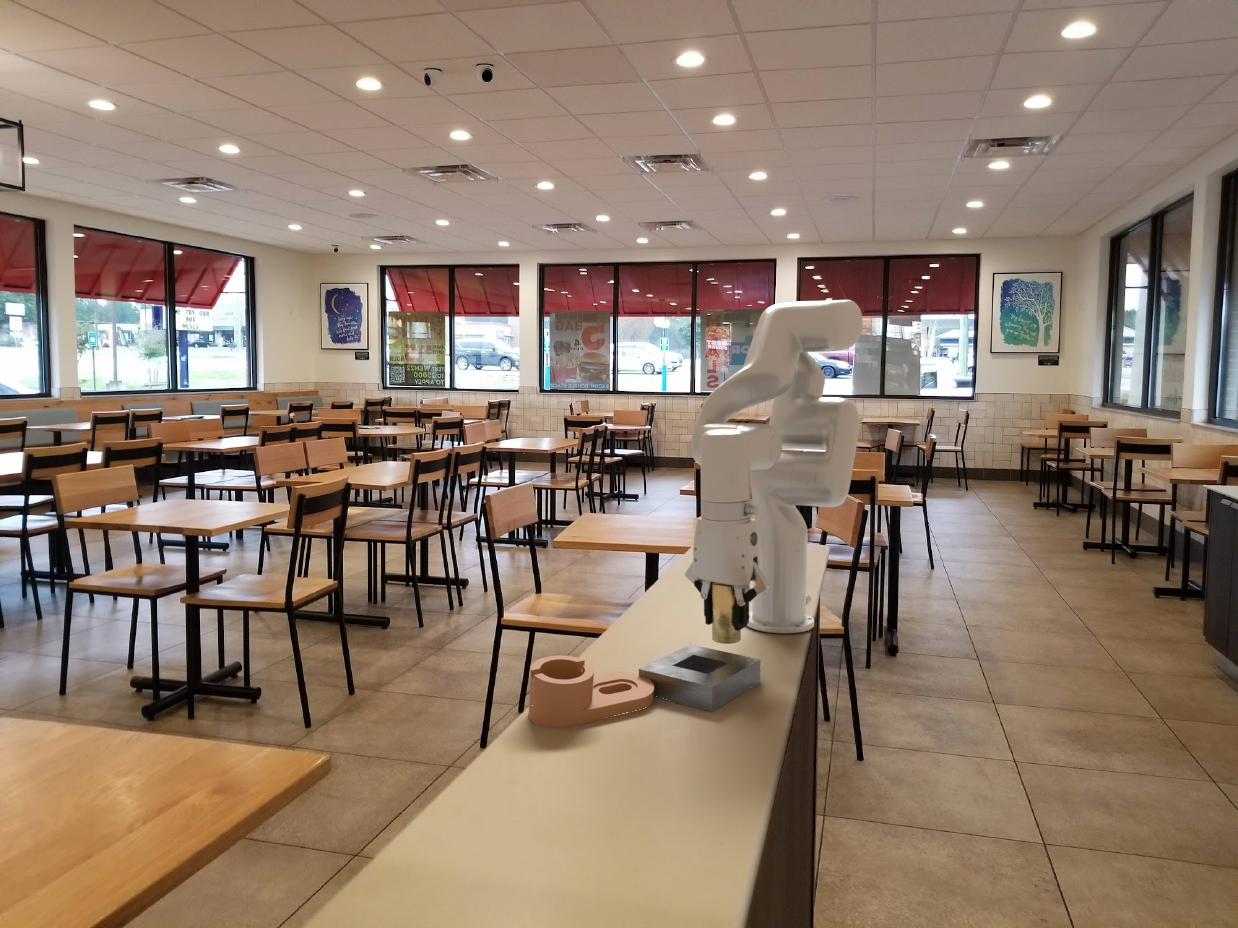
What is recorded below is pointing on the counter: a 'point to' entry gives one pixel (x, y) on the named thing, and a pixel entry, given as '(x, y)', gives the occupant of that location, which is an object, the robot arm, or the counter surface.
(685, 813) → the counter surface
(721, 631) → the gold rounded cylinder
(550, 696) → the bracket
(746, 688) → the plate
